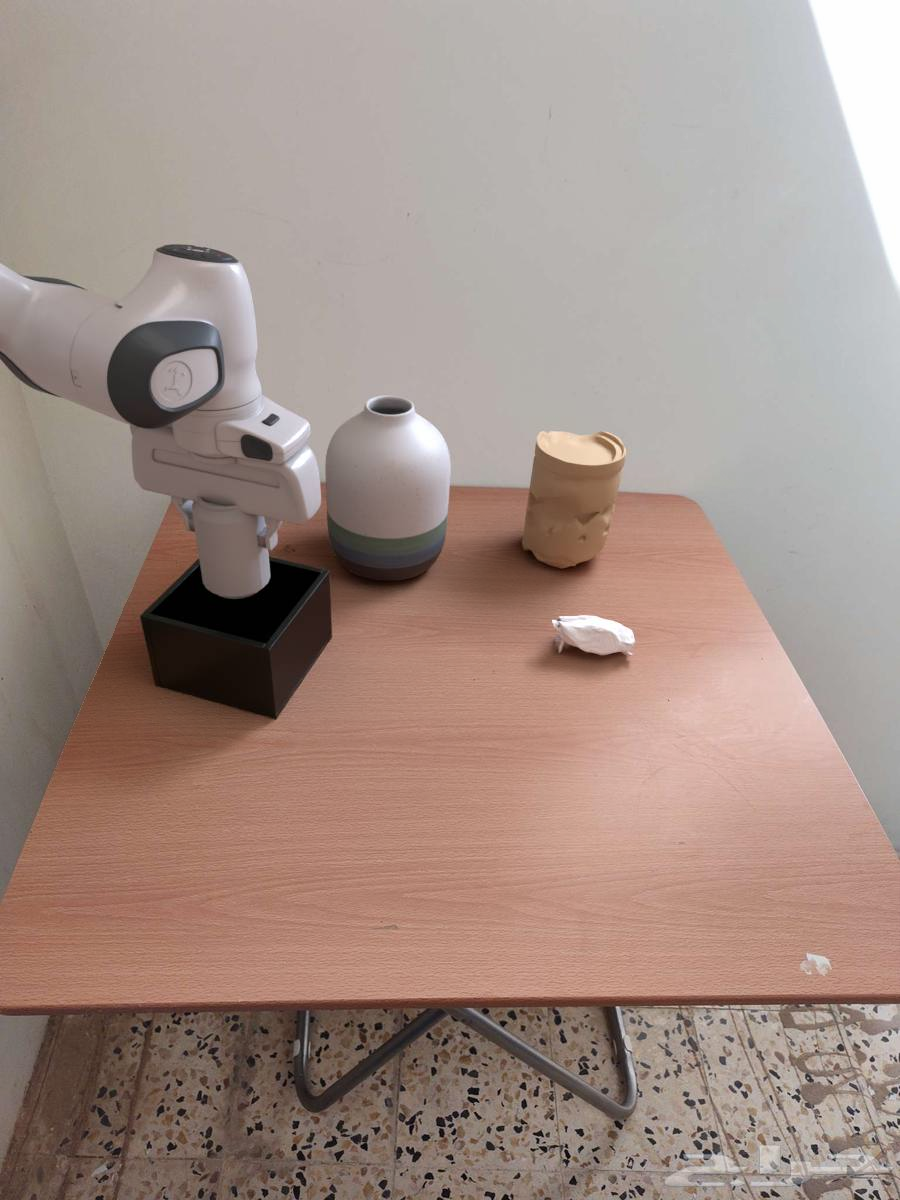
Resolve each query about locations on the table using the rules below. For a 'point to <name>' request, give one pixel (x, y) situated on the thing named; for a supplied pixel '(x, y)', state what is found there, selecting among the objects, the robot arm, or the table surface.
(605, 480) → the container
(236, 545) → the can
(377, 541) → the vase
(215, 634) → the bin
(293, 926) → the table surface
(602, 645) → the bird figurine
